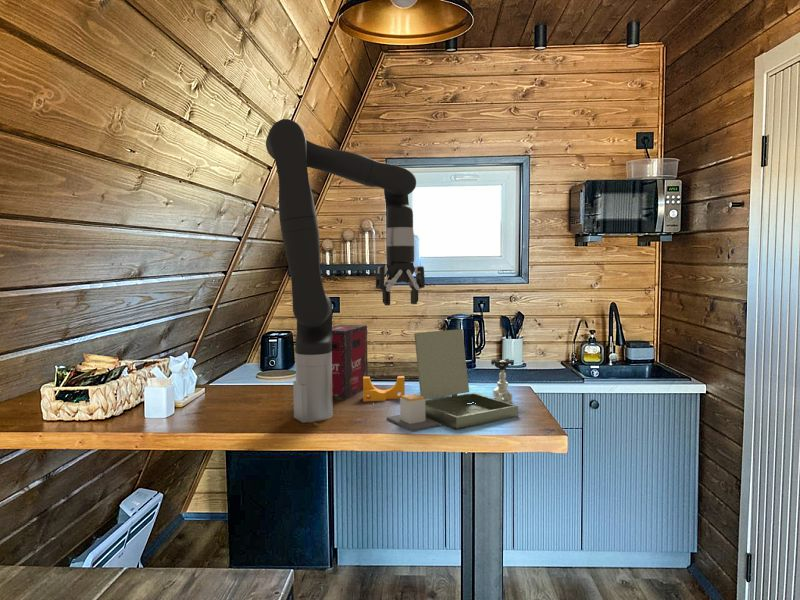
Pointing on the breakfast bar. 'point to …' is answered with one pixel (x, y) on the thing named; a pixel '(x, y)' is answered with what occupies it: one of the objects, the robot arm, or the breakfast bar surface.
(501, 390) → the valve
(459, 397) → the case
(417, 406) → the block
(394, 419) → the mat
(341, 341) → the box
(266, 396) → the breakfast bar surface
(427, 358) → the lid
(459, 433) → the breakfast bar surface
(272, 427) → the breakfast bar surface
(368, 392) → the pipe clamp
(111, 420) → the breakfast bar surface
